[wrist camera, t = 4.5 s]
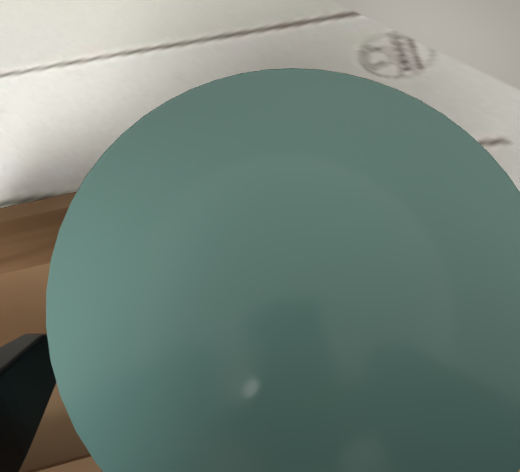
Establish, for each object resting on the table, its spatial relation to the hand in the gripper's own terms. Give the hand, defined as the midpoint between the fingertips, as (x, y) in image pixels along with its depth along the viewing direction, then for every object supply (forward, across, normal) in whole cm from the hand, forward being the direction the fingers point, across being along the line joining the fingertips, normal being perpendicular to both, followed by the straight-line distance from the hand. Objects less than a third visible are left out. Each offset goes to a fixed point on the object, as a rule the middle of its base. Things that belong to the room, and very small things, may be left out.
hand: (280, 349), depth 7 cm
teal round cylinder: (+6, 0, +6) cm, 8 cm away
